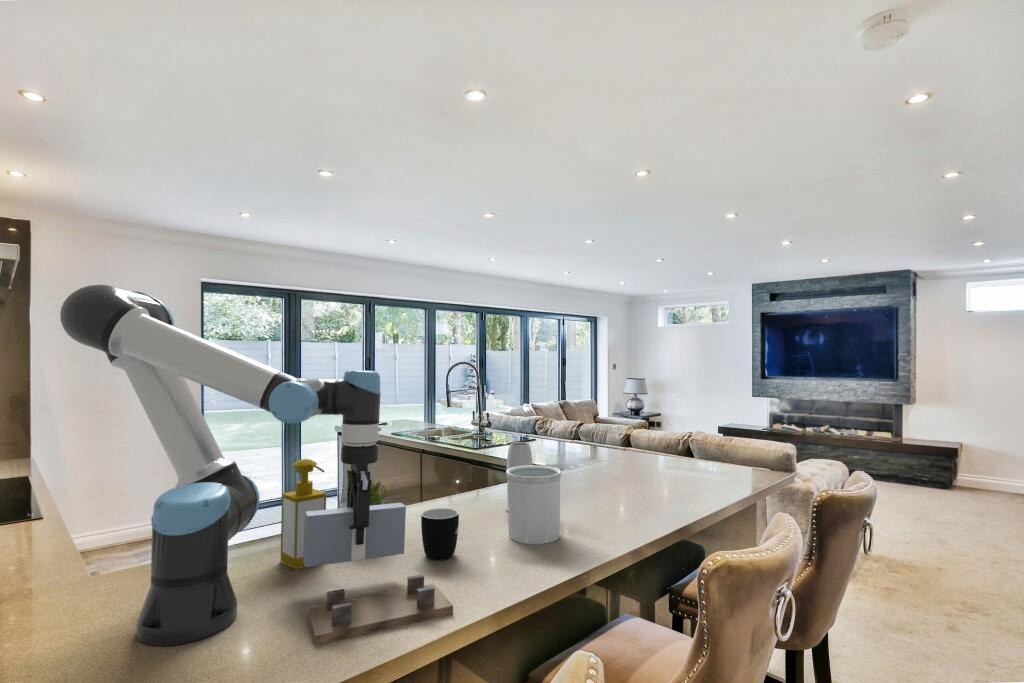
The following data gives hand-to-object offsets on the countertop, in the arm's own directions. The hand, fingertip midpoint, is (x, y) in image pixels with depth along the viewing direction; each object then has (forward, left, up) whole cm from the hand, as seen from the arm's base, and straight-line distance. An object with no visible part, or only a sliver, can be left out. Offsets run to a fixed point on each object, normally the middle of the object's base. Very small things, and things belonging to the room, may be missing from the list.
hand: (355, 555), depth 111 cm
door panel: (0, 0, 0) cm, 0 cm away
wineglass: (+57, +33, -6) cm, 66 cm away
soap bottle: (-7, +16, -6) cm, 19 cm away
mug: (+22, +9, -6) cm, 24 cm away
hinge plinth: (+2, -16, -6) cm, 17 cm away
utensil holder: (+49, +10, -6) cm, 50 cm away
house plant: (+9, +26, -6) cm, 28 cm away
